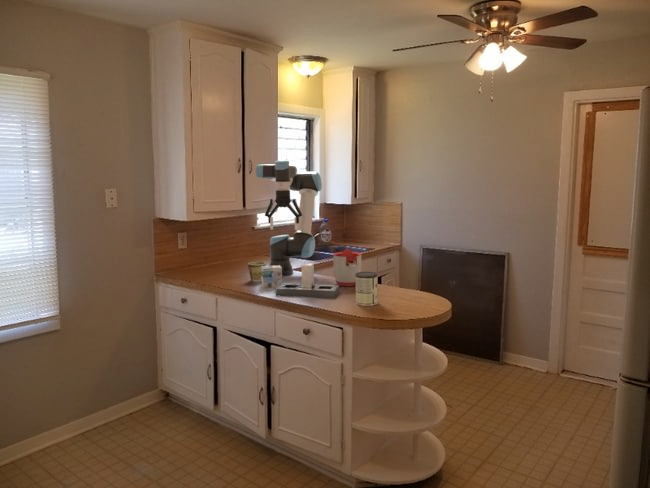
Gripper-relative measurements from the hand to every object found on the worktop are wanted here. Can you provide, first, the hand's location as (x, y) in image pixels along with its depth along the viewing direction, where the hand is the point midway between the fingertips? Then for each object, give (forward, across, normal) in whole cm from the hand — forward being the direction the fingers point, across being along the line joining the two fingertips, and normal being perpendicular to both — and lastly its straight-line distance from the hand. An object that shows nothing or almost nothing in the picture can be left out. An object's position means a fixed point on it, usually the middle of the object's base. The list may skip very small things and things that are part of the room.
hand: (283, 229), depth 295 cm
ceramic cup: (+31, -19, +10) cm, 38 cm away
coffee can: (+30, +49, -33) cm, 66 cm away
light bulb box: (+31, -6, -4) cm, 32 cm away
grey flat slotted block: (+30, +17, -18) cm, 39 cm away
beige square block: (+30, +17, -18) cm, 39 cm away
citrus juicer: (+31, +34, +5) cm, 46 cm away
